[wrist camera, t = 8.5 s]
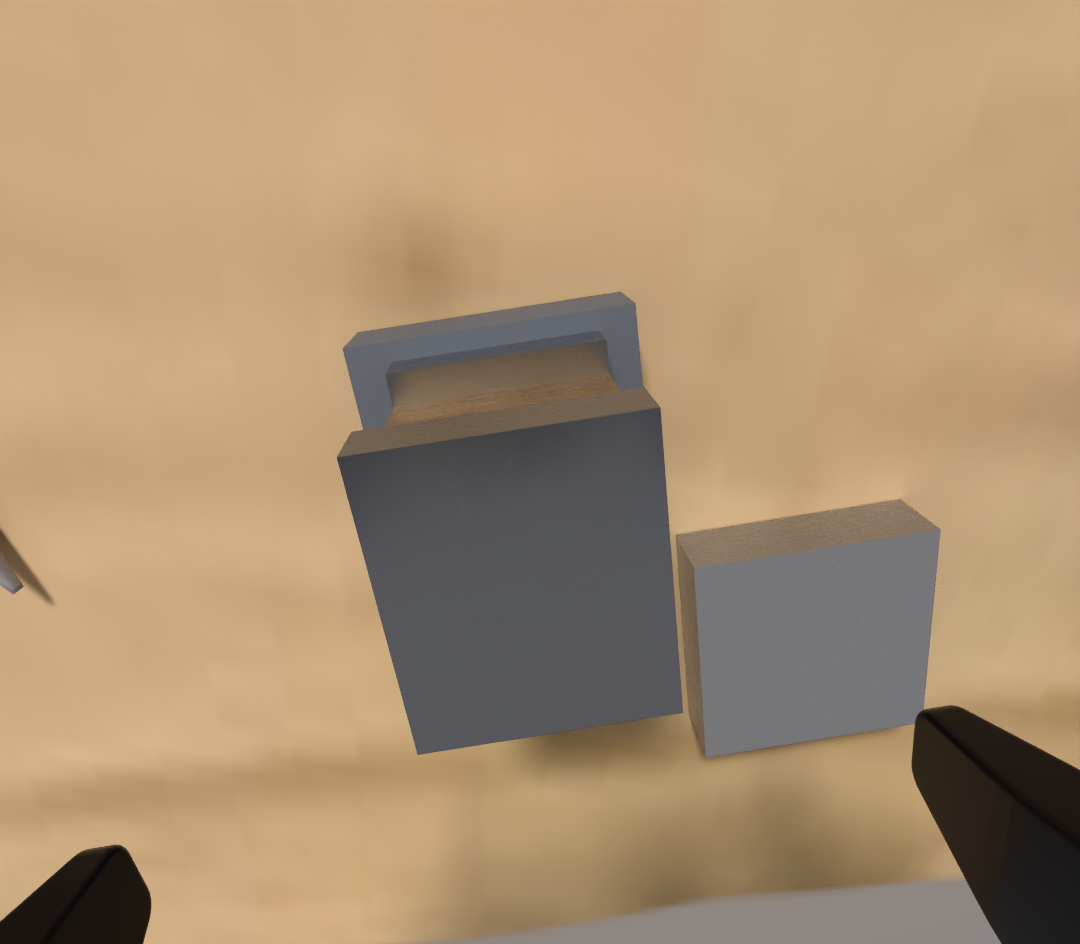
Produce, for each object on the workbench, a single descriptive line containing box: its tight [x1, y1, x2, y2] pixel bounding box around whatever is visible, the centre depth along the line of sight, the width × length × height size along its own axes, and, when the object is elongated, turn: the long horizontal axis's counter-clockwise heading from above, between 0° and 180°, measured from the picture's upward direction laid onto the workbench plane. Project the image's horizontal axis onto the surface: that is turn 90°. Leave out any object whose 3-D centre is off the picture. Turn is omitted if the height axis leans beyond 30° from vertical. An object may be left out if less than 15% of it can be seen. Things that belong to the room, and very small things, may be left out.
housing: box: [337, 330, 683, 755], centre depth 15 cm, size 6×5×6 cm
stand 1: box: [343, 292, 642, 430], centre depth 18 cm, size 7×7×2 cm
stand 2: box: [676, 500, 940, 758], centre depth 21 cm, size 7×7×2 cm
